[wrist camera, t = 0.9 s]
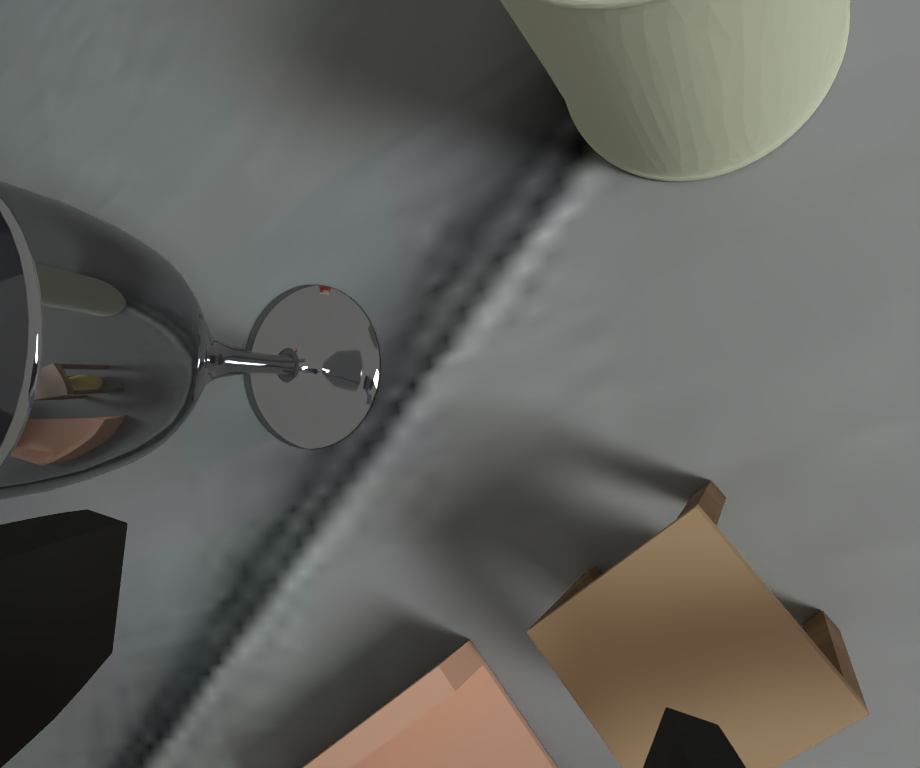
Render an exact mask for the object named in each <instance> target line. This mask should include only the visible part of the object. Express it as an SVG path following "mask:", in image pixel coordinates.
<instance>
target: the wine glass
mask: <svg viewBox="0 0 920 768" xmlns="http://www.w3.org/2000/svg"><path fill="white" fill-rule="evenodd" d="M380 371H381V358H380V350H379V344H378V340H377V337H376V333H375V330H374V328H373V326H372V324H371V322H370V320H369V318H368V316H367V315H366V314H365V312H364V311H363V309H362V308H361V307H360V306H359V305H358V304H357V303H356V302H355V301H354V300H353V299H352V298H351V297H349V296H348V295H346V294H345V293H343V292H342V291H340V290H337V289H334V288H332V287H329V286H323V285H304V286H301V287H297V288H293V289H291V290H289V291H287V292H285V293H283V294H282V295H280V296H279V297H277V298H276V299H275V300H273V301H272V302H271V303H270V304H269V305H268V306H267V307H266V309H265V310H264V311H263V312H262V314H261V315H260V316H259V318H258V319H257V321H256V323H255V325H254V327H253V329H252V331H251V333H250V336H249V340H248V343H247V346H246V350H245V349H241V348H238V347H234V346H231V345H228V344H225V343H223V342H220V341H219V340H217V339H216V338H215V337H214V336H212V335H211V333H210V332H209V330H208V327H207V324H206V321H205V318H204V316H203V313H202V310H201V308H200V306H199V303H198V301H197V299H196V297H195V295H194V294H193V292H192V291H191V289H190V288H189V286H188V284H187V283H186V281H185V280H184V278H183V277H182V275H181V274H180V273H179V272H178V270H177V269H176V268H175V267H174V266H173V265H172V264H171V263H170V262H169V261H168V260H166V259H165V258H164V257H162V256H161V255H160V254H159V253H157V252H156V251H155V250H153V249H152V248H151V247H149V246H148V245H146V244H145V243H144V242H142V241H140V240H139V239H137V238H135V237H133V236H132V235H130V234H128V233H126V232H125V231H123V230H121V229H120V228H118V227H116V226H114V225H112V224H110V223H108V222H106V221H104V220H101V219H99V218H97V217H95V216H93V215H90V214H88V213H86V212H84V211H82V210H79V209H77V208H75V207H73V206H70V205H68V204H65V203H63V202H60V201H58V200H55V199H52V198H49V197H46V196H43V195H40V194H37V193H34V192H31V191H28V190H25V189H22V188H19V187H16V186H14V185H11V184H8V183H4V182H1V181H0V500H1V499H7V498H13V497H18V496H24V495H30V494H35V493H41V492H47V491H50V490H54V489H58V488H61V487H65V486H68V485H72V484H75V483H79V482H82V481H86V480H89V479H92V478H95V477H97V476H100V475H102V474H105V473H107V472H110V471H113V470H115V469H118V468H120V467H123V466H125V465H128V464H130V463H132V462H135V461H137V460H139V459H140V458H142V457H144V456H146V455H147V454H149V453H151V452H153V451H154V450H156V449H157V448H158V447H160V446H161V445H163V444H164V443H165V442H166V441H167V440H168V439H169V438H170V437H171V436H172V435H173V434H174V433H175V432H176V431H177V430H178V429H179V427H180V426H181V425H182V424H183V423H184V422H185V421H186V419H187V418H188V416H189V415H190V413H191V412H192V410H193V409H194V407H195V405H196V403H197V401H198V399H199V397H200V395H201V394H202V392H203V390H204V388H205V386H206V385H207V384H209V383H210V382H212V381H213V380H215V379H218V378H222V377H227V376H234V375H242V374H244V379H245V387H246V391H247V395H248V399H249V402H250V404H251V406H252V409H253V411H254V413H255V414H256V416H257V418H258V419H259V421H260V422H261V424H262V425H263V426H264V427H265V428H266V429H267V430H268V432H270V433H271V434H272V435H273V436H275V437H276V438H277V439H278V440H280V441H282V442H284V443H286V444H288V445H290V446H294V447H297V448H301V449H319V448H325V447H328V446H331V445H334V444H336V443H338V442H340V441H341V440H343V439H345V438H346V437H348V436H349V435H350V434H351V433H352V432H353V431H354V430H355V429H357V428H358V426H359V425H360V424H361V423H362V421H363V420H364V419H365V417H366V416H367V414H368V412H369V410H370V408H371V406H372V405H373V402H374V399H375V396H376V393H377V390H378V385H379V380H380Z"/></svg>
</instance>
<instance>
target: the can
mask: <svg viewBox="0 0 920 768" xmlns="http://www.w3.org/2000/svg"><path fill="white" fill-rule="evenodd" d="M500 1H501V2H502V4H503V5H504V7H505V8H506V10H507V12H508V13H509V15H510V16H511V18H512V19H513V21H514V22H515V24H516V25H517V27H518V28H519V30H520V31H521V33H522V34H523V36H524V37H525V39H526V40H527V42H528V43H529V45H530V46H531V48H532V49H533V51H534V52H535V54H536V55H537V57H538V58H539V60H540V62H541V63H542V65H543V66H544V68H545V69H546V71H547V72H548V74H549V75H550V77H551V79H552V80H553V82H554V83H555V85H556V87H557V88H558V90H559V91H560V93H561V95H562V96H563V98H564V99H565V101H566V105H567V108H568V110H569V113H570V115H571V118H572V120H573V122H574V124H575V126H576V127H577V129H578V131H579V132H580V134H581V135H582V136H583V138H584V139H585V141H586V142H587V143H588V144H589V145H590V146H591V147H592V148H593V149H594V150H595V151H596V152H597V153H598V154H599V155H600V156H602V157H603V158H604V159H605V160H607V161H608V162H610V163H611V164H613V165H615V166H616V167H618V168H620V169H622V170H624V171H627V172H629V173H632V174H635V175H637V176H641V177H645V178H649V179H654V180H661V181H673V182H681V181H694V180H702V179H707V178H712V177H716V176H720V175H723V174H727V173H729V172H732V171H735V170H737V169H740V168H742V167H744V166H747V165H749V164H751V163H753V162H755V161H757V160H758V159H760V158H762V157H764V156H765V155H767V154H768V153H770V152H771V151H773V150H774V149H776V148H777V147H779V146H780V145H781V144H782V143H783V142H785V141H786V140H787V139H788V138H790V137H791V136H792V135H793V134H794V133H795V132H796V131H797V130H798V129H799V128H800V127H801V126H802V125H803V124H804V123H805V122H806V121H807V120H808V119H809V118H810V116H811V115H812V114H813V113H814V111H815V110H816V109H817V108H818V106H819V105H820V103H821V102H822V100H823V99H824V97H825V96H826V94H827V93H828V91H829V89H830V87H831V85H832V83H833V81H834V79H835V77H836V75H837V73H838V70H839V68H840V66H841V63H842V60H843V57H844V53H845V50H846V45H847V40H848V34H849V26H850V8H849V4H850V0H500Z"/></svg>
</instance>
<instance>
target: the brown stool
mask: <svg viewBox="0 0 920 768" xmlns="http://www.w3.org/2000/svg"><path fill="white" fill-rule="evenodd" d="M725 499H726V497H725V496H724V495H723V494H722V492H721V491H720V490H719V489H718V488H717V487H716V485H715V484H714V483H713V482H712V481H710V482H709V483H708V484H706V485H705V486H704V487H702V488H701V489H699V490H698V491H697V492H695V493H694V495H693V496H692V498H691V499H690V500H689V502H688V503H687V505H686V506H685V508H684V509H683V511H682V512H681V514H680V515H679V516H678V518H677V519H676V520H675V521H674V522H672V523H671V524H670V525H668V526H667V527H666V528H664V529H663V530H662V531H660V532H659V533H658V534H656V535H655V536H653V537H652V538H651V539H649V540H648V541H647V542H645V543H644V544H643V545H641V546H640V547H639V548H637V549H636V550H634V551H633V552H632V553H630V554H629V555H628V556H626V557H625V558H624V559H622V560H621V561H620V562H618V563H617V564H615V565H614V566H613V567H611V568H610V569H609V570H607V571H606V572H605V573H603V574H602V575H601V574H600V573H599V572H598V570H597V569H596V568H593V569H592V570H591V571H589V572H588V573H587V574H585V575H584V576H583V577H581V578H580V579H579V580H578V581H577V582H576V583H575V584H574V585H573V586H572V587H571V588H570V589H569V590H568V591H567V592H566V593H565V594H564V595H563V596H562V597H561V598H560V599H559V600H558V601H557V602H556V603H555V604H554V605H553V606H552V607H551V608H550V609H549V610H548V611H547V612H546V613H545V614H544V615H543V616H542V617H541V618H540V619H539V620H538V621H537V622H536V623H535V624H534V625H533V626H532V627H531V628H530V629H529V630H528V631H527V633H528V635H529V636H530V638H531V639H532V640H533V642H534V643H535V645H536V646H537V648H538V649H539V650H540V652H541V653H542V655H543V656H544V657H545V659H546V660H547V662H548V663H549V664H550V666H551V667H552V669H553V670H554V672H555V673H556V674H557V676H558V677H559V679H560V680H561V681H562V683H563V684H564V686H565V687H566V688H567V690H568V691H569V693H570V694H571V695H572V697H573V698H574V700H575V701H576V703H577V704H578V705H579V707H580V708H581V710H582V711H583V712H584V714H585V715H586V717H587V718H588V719H589V721H590V722H591V724H592V725H593V727H594V728H595V729H596V731H597V732H598V734H599V735H600V736H601V738H602V739H603V741H604V742H605V743H606V745H607V746H608V748H609V749H610V750H611V752H612V753H613V755H614V756H615V758H616V759H617V760H618V762H619V763H620V765H621V766H622V767H623V768H643V766H644V763H645V761H646V758H647V755H648V753H649V750H650V748H651V745H652V742H653V740H654V737H655V734H656V732H657V729H658V726H659V724H660V721H661V719H662V716H663V713H664V711H665V708H666V707H668V708H671V709H674V710H677V711H680V712H683V713H685V714H688V715H691V716H694V717H697V718H700V719H703V720H706V721H709V722H712V723H715V724H718V725H719V727H720V728H721V730H722V731H723V733H724V734H725V736H726V737H727V739H728V740H729V742H730V743H731V745H732V746H733V748H734V749H735V751H736V752H737V754H738V756H739V757H740V759H741V760H742V762H743V763H744V765H745V767H746V768H776V767H778V766H780V765H782V764H783V763H785V762H787V761H789V760H790V759H792V758H794V757H796V756H797V755H799V754H801V753H803V752H804V751H806V750H808V749H810V748H811V747H813V746H815V745H817V744H818V743H820V742H822V741H824V740H825V739H827V738H829V737H831V736H832V735H834V734H836V733H838V732H839V731H841V730H843V729H845V728H846V727H848V726H850V725H852V724H853V723H855V722H857V721H859V720H860V719H862V718H864V717H866V716H867V715H869V712H868V709H867V707H866V704H865V701H864V698H863V695H862V692H861V690H860V687H859V684H858V681H857V678H856V675H855V673H854V670H853V667H852V664H851V661H850V658H849V656H848V653H847V650H846V647H845V644H844V641H843V638H842V636H841V633H840V630H839V629H838V628H837V627H836V625H835V624H834V623H833V622H832V621H831V620H830V618H829V617H828V616H827V615H826V614H825V613H824V611H822V612H821V613H819V614H817V615H816V616H814V617H813V618H811V619H810V620H808V621H806V622H805V623H804V625H805V630H806V632H805V631H804V630H803V629H802V627H801V626H800V625H799V624H798V623H797V622H796V620H795V619H794V618H793V617H792V616H791V614H790V613H789V612H788V611H787V610H786V608H785V607H784V606H783V605H782V604H781V602H780V601H779V600H778V599H777V598H776V597H775V595H774V594H773V593H772V592H771V591H770V589H769V588H768V587H767V586H766V585H765V583H764V582H763V581H762V580H761V579H760V577H759V576H758V575H757V574H756V573H755V572H754V570H753V569H752V568H751V567H750V566H749V564H748V563H747V562H746V561H745V560H744V558H743V557H742V556H741V555H740V554H739V552H738V551H737V550H736V549H735V548H734V547H733V545H732V544H731V543H730V542H729V541H728V539H727V538H726V537H725V536H724V535H723V533H722V532H721V531H720V530H719V529H718V527H717V523H718V520H719V517H720V514H721V511H722V508H723V505H724V502H725Z"/></svg>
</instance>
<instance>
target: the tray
mask: <svg viewBox="0 0 920 768" xmlns="http://www.w3.org/2000/svg"><path fill="white" fill-rule="evenodd" d="M301 768H557V767H556V766H555V764H554V763H553V761H552V760H551V758H550V757H549V755H548V754H547V752H546V751H545V749H544V748H543V747H542V745H541V744H540V742H539V741H538V739H537V738H536V736H535V735H534V733H533V732H532V730H531V729H530V727H529V726H528V724H527V723H526V722H525V720H524V719H523V717H522V716H521V714H520V713H519V711H518V710H517V708H516V707H515V705H514V704H513V702H512V701H511V699H510V698H509V697H508V695H507V694H506V692H505V691H504V689H503V688H502V686H501V685H500V683H499V682H498V680H497V679H496V677H495V676H494V674H493V673H492V672H491V670H490V669H489V667H488V666H487V664H486V663H485V661H484V660H483V658H482V657H481V655H480V654H479V652H478V651H477V649H476V648H475V647H474V645H473V644H472V642H471V641H470V640H469V641H468V642H466V643H465V644H464V645H462V646H461V647H460V648H458V649H457V650H456V651H454V652H453V653H452V654H450V655H449V656H448V657H446V658H445V659H444V660H442V661H441V662H440V663H439V664H437V665H436V666H435V667H433V668H432V669H431V670H429V671H428V672H427V673H425V674H424V675H423V676H421V677H420V678H419V679H417V680H416V681H415V682H413V683H412V684H411V685H409V686H408V687H407V688H405V689H404V690H403V691H402V692H400V693H399V694H398V695H396V696H395V697H394V698H392V699H391V700H390V701H388V702H387V703H386V704H384V705H383V706H382V707H380V708H379V709H378V710H376V711H375V712H374V713H372V714H371V715H370V716H368V717H367V718H366V719H364V720H363V721H362V722H361V723H359V724H358V725H357V726H355V727H354V728H353V729H351V730H350V731H349V732H347V733H346V734H345V735H343V736H342V737H341V738H339V739H338V740H337V741H335V742H334V743H333V744H331V745H330V746H329V747H327V748H326V749H325V750H324V751H322V752H321V753H320V754H318V755H317V756H316V757H314V758H313V759H312V760H310V761H309V762H308V763H306V764H305V765H304V766H302V767H301Z"/></svg>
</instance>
